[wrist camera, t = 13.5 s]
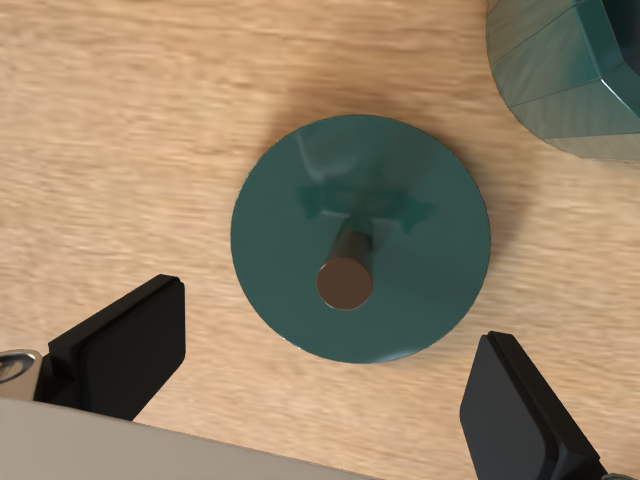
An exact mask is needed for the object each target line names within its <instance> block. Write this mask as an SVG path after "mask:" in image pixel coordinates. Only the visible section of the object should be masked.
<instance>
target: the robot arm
mask: <svg viewBox="0 0 640 480" xmlns="http://www.w3.org/2000/svg"><path fill="white" fill-rule="evenodd" d="M48 346H49V352H50V353H48V354H47V355H45V356H44V357H42V355H41V354H40V353H39V352H37V351H33V350H28V349H18V350H9V351H5V352H1V353H0V480H385V479H380V478H376V477H372V476H368V475H363V474H359V473H355V472H351V471H346V470H342V469H338V468H334V467H329V466H325V465H321V464H317V463H312V462H308V461H304V460H299V459H295V458H291V457H286V456H282V455H278V454H273V453H269V452H265V451H260V450H256V449H252V448H247V447H243V446H238V445H234V444H230V443H225V442H221V441H217V440H212V439H208V438H203V437H199V436H194V435H190V434H185V433H181V432H176V431H172V430H168V429H163V428H159V427H154V426H150V425H145V424H141V423H136V422H132V421H133V419H134V418H135V417H136V416H137V415H138V414H139V412H140V411H141V410H142V409H143V408H144V407H145V406H146V404H147V403H148V402H149V401H150V400H151V399H152V397H153V396H154V395H155V394H156V393H157V392H158V391H159V389H160V388H161V387H162V386H163V385H164V384H165V382H166V381H167V380H168V379H169V378H170V377H171V376H172V374H173V373H174V372H175V371H176V370H177V369H178V367H179V366H180V365H181V364H182V362H183V360H184V358H185V353H186V345H185V287H184V283H183V282H180V279H179V278H178V277H175V276H169V275H163V274H159V275H157V276H156V277H154V278H152V279H151V280H149V281H148V282H146V283H144V284H143V285H141V286H139V287H138V288H136V289H135V290H133V291H131V292H130V293H128V294H126V295H125V296H123V297H122V298H120V299H118V300H117V301H115V302H114V303H112V304H110V305H109V306H107V307H105V308H104V309H102V310H101V311H99V312H97V313H96V314H94V315H93V316H91V317H89V318H88V319H86V320H84V321H83V322H81V323H80V324H78V325H76V326H75V327H73V328H72V329H70V330H68V331H67V332H65V333H63V334H62V335H60V336H59V337H57V338H55V339H54V340H52V341H51V342H49V343H48ZM460 422H461V425H462V428H463V431H464V435H465V438H466V441H467V445H468V448H469V451H470V454H471V458H472V461H473V464H474V467H475V471H476V474H477V477H478V480H637V479H634V478H631V477H629V476H626V475H622V474H615V473H611V474H608V473H607V471H606V470H605V469H604V467H603V466H602V464H601V463H600V461H599V459H600V456H599V455H598V453H597V452H596V451H595V449H594V448H593V446H592V445H591V444H590V442H589V441H588V439H587V438H586V437H585V435H584V434H583V432H582V431H581V430H580V428H579V427H578V425H577V424H576V422H575V421H574V420H573V418H572V417H571V415H570V414H569V413H568V411H567V410H566V408H565V407H564V406H563V404H562V403H561V401H560V400H559V399H558V397H557V396H556V394H555V393H554V392H553V390H552V389H551V387H550V386H549V385H548V383H547V382H546V380H545V379H544V378H543V376H542V375H541V373H540V372H539V371H538V369H537V368H536V366H535V365H534V364H533V362H532V361H531V359H530V358H529V357H528V355H527V354H526V352H525V351H524V350H523V348H522V347H521V345H520V344H519V343H518V341H517V340H516V338H515V337H514V336H513V335H511V334H506V333H500V332H494V331H490V332H489V333H488V334H487V335H482V336H481V338H480V341H479V345H478V348H477V351H476V355H475V358H474V362H473V365H472V369H471V372H470V376H469V379H468V382H467V386H466V389H465V393H464V396H463V400H462V403H461V406H460Z"/></svg>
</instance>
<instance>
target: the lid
mask: <svg viewBox="0 0 640 480" xmlns="http://www.w3.org/2000/svg"><path fill="white" fill-rule="evenodd" d="M230 235H231V252H232V258H233V264H234V267H235V271H236V274H237V278H238V280H239V282H240V285H241V287H242V289H243V292H244V293H245V295H246V297H247V299H248V300H249V302H250V304H251V305H252V307H253V308H254V309H255V311H256V312H257V313H258V315H259V316H260V317H261V318H262V319H263V320H264V321H265V322H266V323H267V325H268V326H269V327H270V328H272V329H273V330H274V331H275V332H276V333H278V334H279V335H280V336H281V337H282V338H284V339H285V340H287V341H288V342H290V343H291V344H293V345H295V346H297V347H299V348H300V349H302V350H304V351H306V352H308V353H311V354H314V355H316V356H319V357H322V358H326V359H329V360H333V361H338V362H345V363H354V364H371V363H382V362H387V361H392V360H397V359H400V358H403V357H406V356H409V355H412V354H415V353H417V352H419V351H421V350H423V349H425V348H427V347H429V346H430V345H432V344H434V343H435V342H437V341H438V340H440V339H441V338H442V337H444V336H445V335H446V334H447V333H448V332H450V331H451V330H452V329H453V328H454V327H455V326H456V325H457V324H458V323H459V322H460V321H461V319H462V318H463V317H464V316H465V315H466V313H467V312H468V310H469V309H470V308H471V306H472V305H473V303H474V301H475V299H476V297H477V295H478V294H479V292H480V290H481V287H482V284H483V282H484V279H485V276H486V273H487V268H488V263H489V258H490V244H491V236H490V226H489V219H488V215H487V211H486V207H485V203H484V201H483V198H482V196H481V193H480V191H479V189H478V186H477V185H476V183H475V181H474V180H473V178H472V176H471V175H470V173H469V171H468V170H467V169H466V168H465V166H464V165H463V164H462V163H461V161H460V160H459V159H458V158H457V157H456V156H455V155H454V154H453V153H452V152H451V151H450V150H449V149H448V148H447V147H446V146H444V145H443V144H442V143H441V142H439V141H438V140H436V139H435V138H433V137H432V136H430V135H429V134H428V133H426V132H424V131H422V130H420V129H418V128H416V127H414V126H412V125H409V124H407V123H404V122H400V121H397V120H394V119H391V118H386V117H380V116H374V115H344V116H335V117H330V118H326V119H322V120H318V121H315V122H313V123H310V124H308V125H305V126H303V127H300V128H299V129H297V130H295V131H293V132H292V133H290V134H288V135H286V136H285V137H283V138H282V139H281V140H279V141H278V142H277V143H276V144H274V145H273V146H272V147H270V149H269V150H268V151H267V152H266V153H265V154H264V155H263V156H262V157H261V158H260V159H259V160H258V161H257V163H256V164H255V165H254V167H253V168H252V169H251V171H250V172H249V174H248V176H247V177H246V179H245V181H244V183H243V185H242V187H241V189H240V192H239V194H238V197H237V200H236V202H235V207H234V211H233V215H232V222H231V232H230Z"/></svg>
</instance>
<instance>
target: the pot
mask: <svg viewBox="0 0 640 480" xmlns="http://www.w3.org/2000/svg"><path fill="white" fill-rule="evenodd" d="M486 43H487V53H488V59H489V63H490V68H491V72H492V76H493V78H494V81H495V83H496V86H497V88H498V91H499V93H500V95H501V96H502V98H503V100H504V102H505V104H506V105H507V107H508V108H509V110H510V111H511V112H512V113H513V115H514V116H515V117H516V118H517V120H518V121H519V122H520V123H521V124H522V125H523V126H524V127H525V128H526V129H528V130H529V131H530V132H531V133H532V134H533V135H535V136H536V137H538V138H539V139H541V140H542V141H544V142H545V143H547V144H549V145H551V146H553V147H555V148H557V149H559V150H561V151H564V152H567V153H570V154H573V155H576V156H578V157H581V158H587V159H596V160H606V161H615V162H624V163H637V164H640V0H489V2H488V8H487V16H486Z"/></svg>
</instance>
